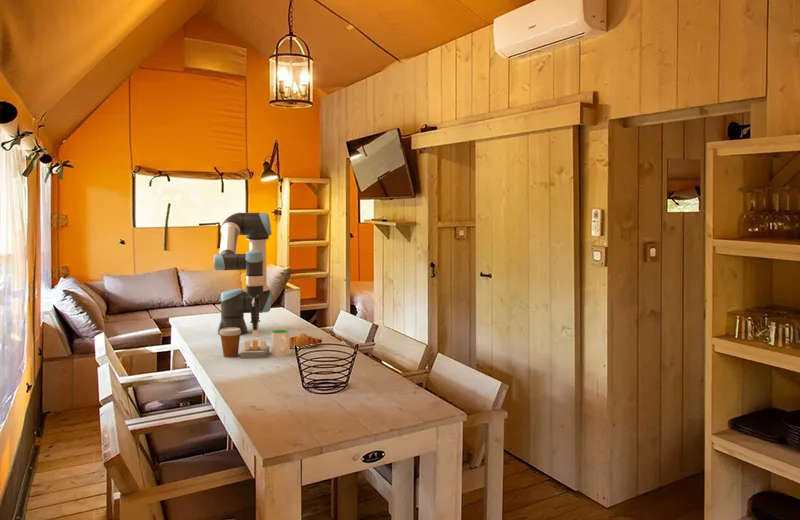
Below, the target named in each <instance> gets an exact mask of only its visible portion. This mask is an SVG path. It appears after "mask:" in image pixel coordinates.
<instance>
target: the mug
mask: <svg viewBox="0 0 800 520" xmlns="http://www.w3.org/2000/svg"><path fill="white" fill-rule="evenodd" d="M290 335H291V334H290V329H274V330H272V331H271V356H277V357H282V356H283V357H284V356H288V355H290V353H291V352H290V351H291V348H290V338H291V337H290Z"/></svg>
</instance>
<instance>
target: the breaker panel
mask: <svg viewBox="0 0 800 520" xmlns="http://www.w3.org/2000/svg"><path fill="white" fill-rule="evenodd" d="M269 353H270V346H267V345H266V349H265V350H261V345H260V346H259V345H258V349H257V350H253V346H250V350H245V347H243V350H242V351H241V352H240V359H267V358H268V356H269Z"/></svg>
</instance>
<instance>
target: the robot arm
mask: <svg viewBox="0 0 800 520" xmlns="http://www.w3.org/2000/svg"><path fill="white" fill-rule="evenodd" d="M220 234H221V238H220V239H221V240H220V245H219V246H220V247H219V253H216V254H214V255H213V268H214V270H216V271H245V273H246V274H245V277H244V280H245V284H246V286H245V290H246V291H244V288H232V289H227V290H224V291H222V292H221V294H220V300H219V301H220V322H219V324H218V325H219V326H218V328H217V334H218V335H220V333H219V332H220V330H221V329H223V328H233V327H234V328H240V330H241V334H240V336H241V335H244V334H247V333H248V327H247V323H246V322H245V317H244V314H250V321H249V324H251V337H252V338H259V337H260V335H259V334H260V330H259V328H260V327H259V326H260V324H259V322H260V323H261V319H260V314H262V313H268V312H270V310H271V306H272V301H273V291H272V290H270V287H269V285H268V284H267V241H268V240H269V238H270V236H271V235H272V225H271V220H270V215H269V214H268V213H266V212H236V213H233V214H231V215H229V216H228V217H226V219H224V221H223V222H222V224H221V226H220ZM239 236H245V238H246V239H245V240H247V241H248V244H249V245H248V247H249V248H248V249H249V250H247V251H246V252H245V253H237V248H238V237H239Z"/></svg>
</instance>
